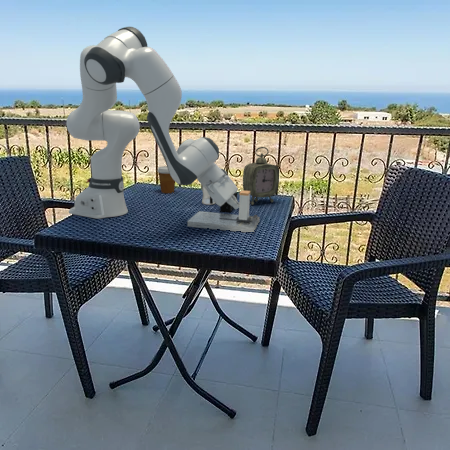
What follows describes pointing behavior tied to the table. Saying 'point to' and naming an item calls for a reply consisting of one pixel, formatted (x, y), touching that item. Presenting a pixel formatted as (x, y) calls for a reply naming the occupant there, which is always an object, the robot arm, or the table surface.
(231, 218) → the plate
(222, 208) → the digital camera
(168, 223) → the table surface
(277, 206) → the table surface
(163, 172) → the disposable coffee cup
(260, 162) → the tabletop clock
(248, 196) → the fader tab
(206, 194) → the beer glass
